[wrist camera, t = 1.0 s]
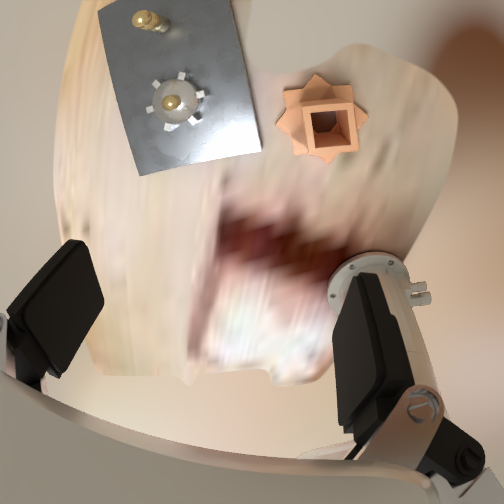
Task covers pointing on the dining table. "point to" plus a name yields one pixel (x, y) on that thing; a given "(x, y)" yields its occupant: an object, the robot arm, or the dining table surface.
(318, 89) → the hollow square star tube
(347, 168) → the dining table surface
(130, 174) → the dining table surface
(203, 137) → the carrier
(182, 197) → the dining table surface
